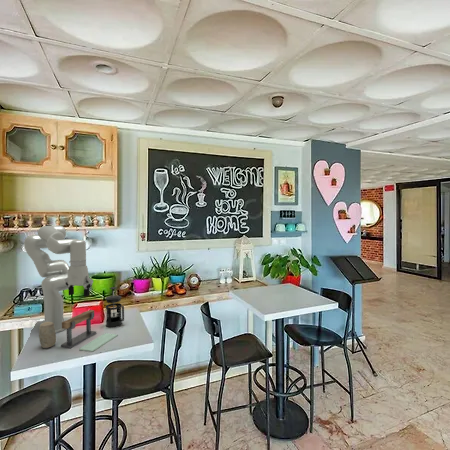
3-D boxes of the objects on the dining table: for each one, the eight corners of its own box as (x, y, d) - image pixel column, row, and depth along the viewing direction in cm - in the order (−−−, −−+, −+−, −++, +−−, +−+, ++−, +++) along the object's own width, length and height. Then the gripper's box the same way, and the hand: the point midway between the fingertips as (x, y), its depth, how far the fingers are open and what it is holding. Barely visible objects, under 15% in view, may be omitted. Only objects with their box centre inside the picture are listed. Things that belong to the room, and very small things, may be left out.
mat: (79, 350, 146) (79, 348, 145) (105, 334, 165) (105, 333, 165) (92, 351, 143) (92, 350, 143) (117, 335, 163) (117, 334, 163)
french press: (101, 327, 175) (100, 288, 175) (110, 321, 185) (110, 285, 184) (119, 328, 173) (118, 289, 172) (127, 322, 182) (127, 286, 181)
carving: (42, 344, 152) (41, 321, 152) (58, 343, 154) (57, 320, 153) (37, 350, 146) (36, 326, 145) (54, 348, 148) (53, 324, 147)
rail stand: (60, 347, 149) (60, 322, 149) (87, 332, 167) (86, 310, 167) (70, 348, 147) (69, 323, 147) (96, 333, 166) (95, 311, 165)
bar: (61, 328, 148) (61, 322, 148) (89, 315, 167) (89, 309, 167) (66, 328, 147) (66, 322, 147) (94, 315, 166) (94, 310, 166)
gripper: (59, 263, 155) (59, 296, 155) (87, 265, 150) (87, 298, 151) (70, 261, 162) (70, 292, 162) (97, 262, 157) (97, 294, 158)
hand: (78, 295), depth 157 cm, fingers open, 9 cm apart
